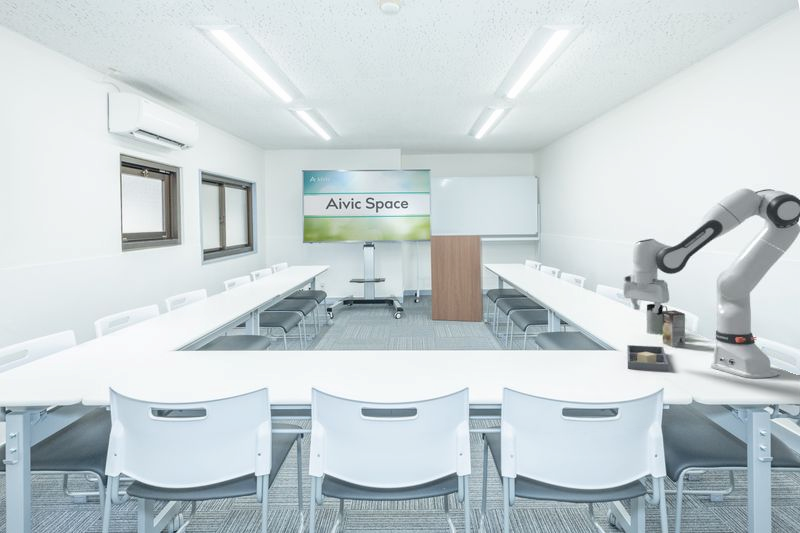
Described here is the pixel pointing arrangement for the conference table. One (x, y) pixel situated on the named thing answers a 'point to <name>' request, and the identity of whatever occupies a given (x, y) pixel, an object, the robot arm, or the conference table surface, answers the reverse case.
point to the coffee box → (673, 328)
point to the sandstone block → (646, 357)
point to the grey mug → (654, 320)
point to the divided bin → (647, 365)
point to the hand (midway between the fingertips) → (645, 311)
